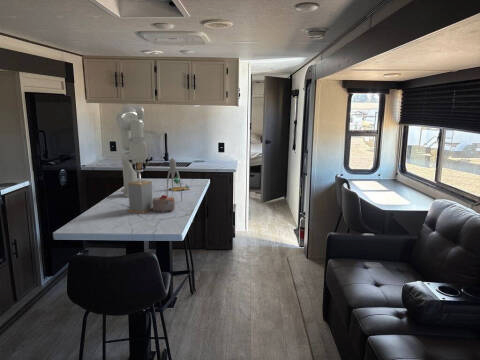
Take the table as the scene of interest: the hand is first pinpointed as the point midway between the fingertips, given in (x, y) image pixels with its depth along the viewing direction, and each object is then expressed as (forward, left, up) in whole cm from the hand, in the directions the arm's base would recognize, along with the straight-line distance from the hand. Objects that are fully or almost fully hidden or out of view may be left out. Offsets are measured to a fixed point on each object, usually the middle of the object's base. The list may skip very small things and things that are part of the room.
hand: (139, 169), depth 221 cm
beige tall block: (0, 0, -26) cm, 26 cm away
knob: (0, 0, -21) cm, 21 cm away
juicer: (+7, +28, -26) cm, 39 cm away
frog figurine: (-10, +57, -26) cm, 63 cm away
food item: (+13, +5, -26) cm, 30 cm away
